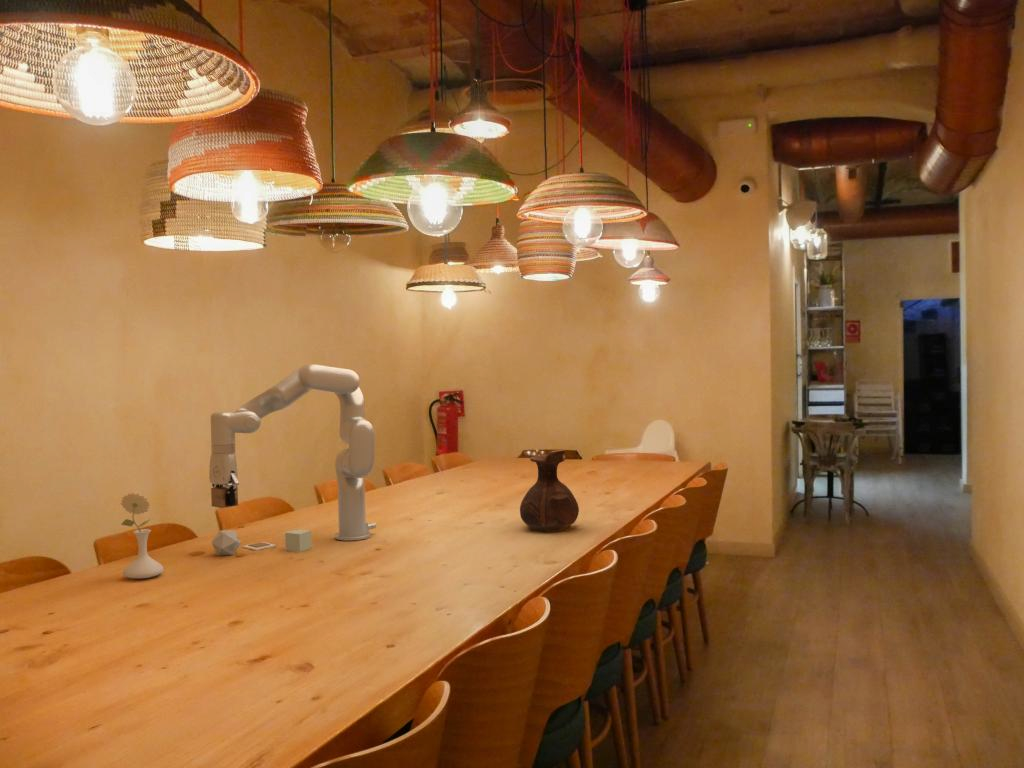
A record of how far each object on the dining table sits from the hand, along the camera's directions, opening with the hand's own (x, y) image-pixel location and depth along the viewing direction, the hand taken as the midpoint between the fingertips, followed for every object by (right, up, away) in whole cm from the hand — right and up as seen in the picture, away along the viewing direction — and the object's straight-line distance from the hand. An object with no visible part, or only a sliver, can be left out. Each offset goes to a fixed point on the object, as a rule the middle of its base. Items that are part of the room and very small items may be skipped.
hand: (224, 503), depth 293 cm
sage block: (+23, -16, +6) cm, 29 cm away
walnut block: (0, -1, 0) cm, 1 cm away
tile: (+8, -16, +11) cm, 21 cm away
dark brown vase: (+108, -14, +33) cm, 114 cm away
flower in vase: (-16, -18, -27) cm, 37 cm away
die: (0, -17, +1) cm, 17 cm away
